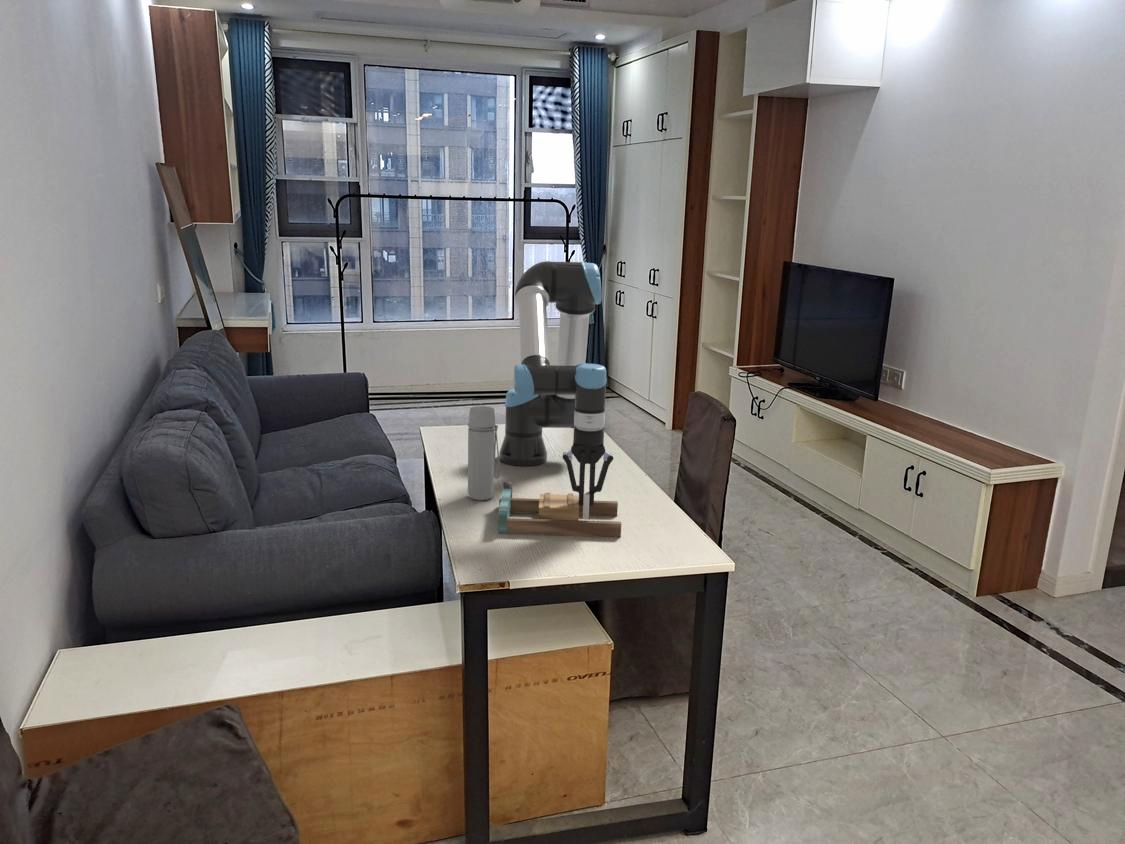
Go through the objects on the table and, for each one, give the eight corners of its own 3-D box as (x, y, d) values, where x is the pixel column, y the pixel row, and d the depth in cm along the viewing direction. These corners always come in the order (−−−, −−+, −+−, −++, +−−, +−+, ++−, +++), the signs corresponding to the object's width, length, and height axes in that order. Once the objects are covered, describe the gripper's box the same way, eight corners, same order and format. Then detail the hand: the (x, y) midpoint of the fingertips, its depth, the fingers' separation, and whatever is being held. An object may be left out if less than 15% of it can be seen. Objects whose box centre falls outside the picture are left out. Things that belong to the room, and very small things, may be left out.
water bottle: (473, 503, 223) (474, 413, 217) (463, 494, 230) (463, 406, 224) (505, 499, 227) (506, 410, 221) (493, 490, 234) (494, 403, 228)
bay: (499, 504, 223) (500, 479, 221) (615, 508, 223) (617, 483, 222) (493, 533, 204) (493, 506, 202) (620, 537, 204) (622, 510, 202)
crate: (539, 515, 217) (539, 492, 215) (577, 516, 217) (578, 493, 215) (538, 530, 207) (538, 506, 206) (578, 531, 207) (579, 507, 206)
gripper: (562, 430, 201) (560, 521, 207) (616, 432, 202) (612, 523, 207) (562, 422, 209) (559, 511, 215) (614, 424, 209) (610, 512, 215)
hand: (585, 516), depth 211 cm, fingers closed
